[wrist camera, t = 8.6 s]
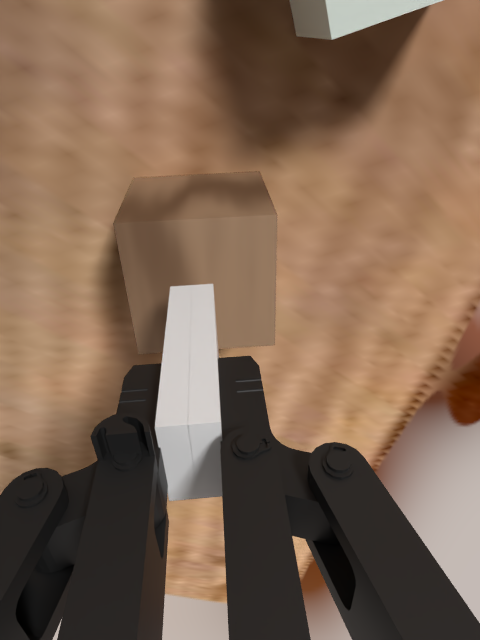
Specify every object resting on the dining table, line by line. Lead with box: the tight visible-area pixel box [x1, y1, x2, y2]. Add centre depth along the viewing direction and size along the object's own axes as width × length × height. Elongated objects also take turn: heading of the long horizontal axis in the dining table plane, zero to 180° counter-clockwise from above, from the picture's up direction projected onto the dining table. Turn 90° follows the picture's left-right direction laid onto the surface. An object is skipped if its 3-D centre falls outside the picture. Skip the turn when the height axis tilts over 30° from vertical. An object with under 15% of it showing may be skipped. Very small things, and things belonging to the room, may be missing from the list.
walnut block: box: [113, 171, 277, 354], centre depth 21 cm, size 6×6×6 cm
